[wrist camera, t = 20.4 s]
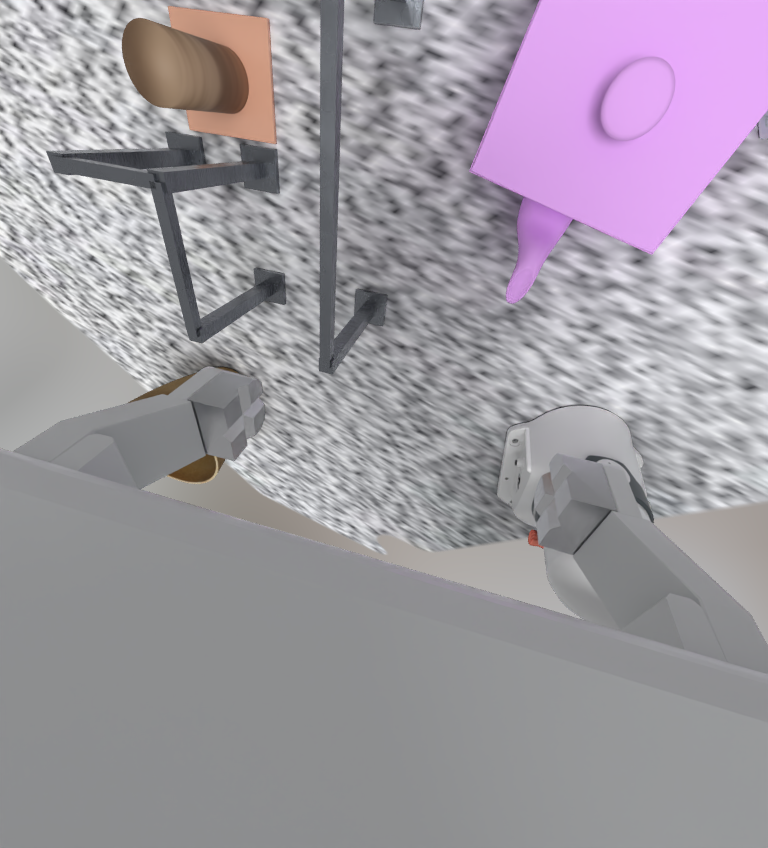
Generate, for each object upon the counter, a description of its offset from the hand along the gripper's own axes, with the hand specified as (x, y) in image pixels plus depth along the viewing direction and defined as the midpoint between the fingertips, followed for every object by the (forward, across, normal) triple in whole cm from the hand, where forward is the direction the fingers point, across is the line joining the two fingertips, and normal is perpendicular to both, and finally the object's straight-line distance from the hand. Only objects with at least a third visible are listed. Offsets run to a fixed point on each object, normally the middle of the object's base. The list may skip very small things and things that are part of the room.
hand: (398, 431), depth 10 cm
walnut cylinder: (+37, +27, -8) cm, 46 cm away
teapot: (+37, -8, -8) cm, 39 cm away
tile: (+37, +27, -8) cm, 47 cm away
